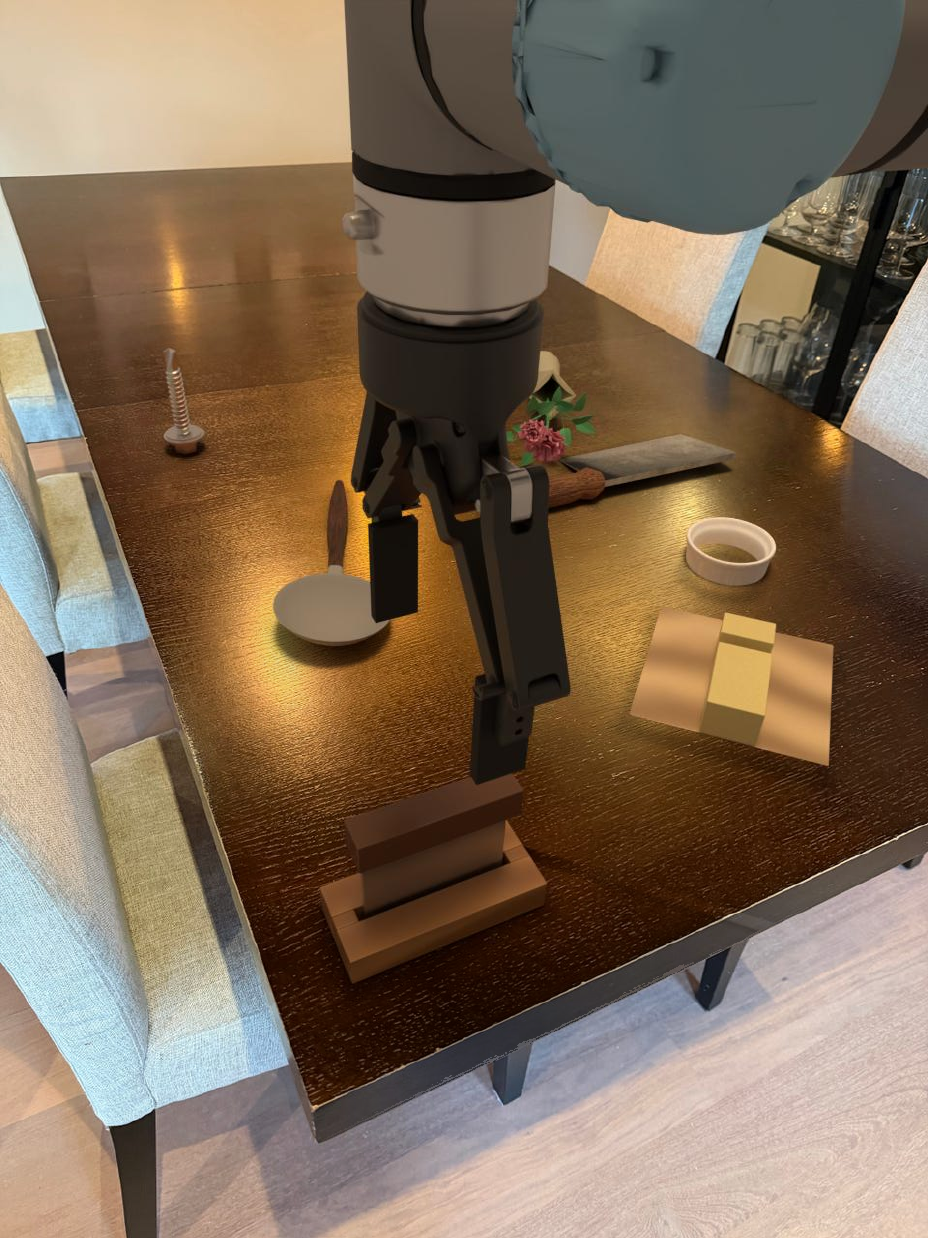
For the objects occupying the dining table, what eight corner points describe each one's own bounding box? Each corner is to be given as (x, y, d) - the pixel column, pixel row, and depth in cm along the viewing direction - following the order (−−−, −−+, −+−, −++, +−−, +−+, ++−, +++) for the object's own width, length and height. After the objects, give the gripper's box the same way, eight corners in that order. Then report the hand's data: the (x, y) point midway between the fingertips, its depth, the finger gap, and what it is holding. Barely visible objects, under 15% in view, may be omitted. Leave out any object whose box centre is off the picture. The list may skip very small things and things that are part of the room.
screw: (213, 451, 111) (176, 462, 108) (196, 437, 114) (160, 447, 111) (197, 350, 103) (157, 359, 100) (179, 336, 106) (140, 345, 103)
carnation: (559, 438, 133) (581, 514, 101) (482, 409, 131) (480, 478, 99) (591, 361, 128) (625, 416, 96) (511, 331, 126) (519, 376, 95)
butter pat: (764, 674, 79) (774, 643, 77) (712, 661, 80) (721, 631, 78) (766, 653, 81) (776, 623, 79) (716, 642, 82) (725, 611, 80)
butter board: (823, 778, 72) (829, 766, 71) (626, 726, 75) (629, 714, 74) (829, 657, 84) (833, 644, 83) (658, 617, 87) (661, 605, 86)
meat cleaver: (679, 433, 119) (685, 405, 116) (734, 472, 111) (741, 442, 109) (450, 484, 107) (451, 454, 105) (494, 531, 99) (495, 500, 97)
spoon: (268, 666, 79) (268, 638, 77) (292, 490, 105) (292, 467, 104) (391, 670, 80) (394, 643, 79) (384, 496, 107) (386, 473, 105)
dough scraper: (512, 892, 62) (524, 790, 56) (364, 952, 58) (357, 849, 52) (497, 866, 64) (506, 764, 57) (351, 922, 60) (343, 819, 53)
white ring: (697, 602, 90) (706, 567, 87) (667, 553, 96) (674, 518, 94) (780, 596, 91) (791, 560, 88) (744, 547, 98) (754, 513, 95)
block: (544, 905, 62) (547, 883, 60) (352, 984, 57) (350, 963, 55) (503, 840, 66) (506, 818, 64) (321, 909, 61) (319, 887, 59)
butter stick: (754, 746, 72) (765, 715, 70) (698, 732, 73) (707, 701, 71) (762, 684, 78) (772, 653, 76) (710, 671, 79) (719, 641, 77)
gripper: (272, 219, 43) (305, 577, 56) (513, 447, 26) (479, 888, 39) (416, 206, 46) (415, 551, 59) (723, 406, 28) (625, 832, 41)
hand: (441, 686), depth 49 cm, fingers open, 13 cm apart
